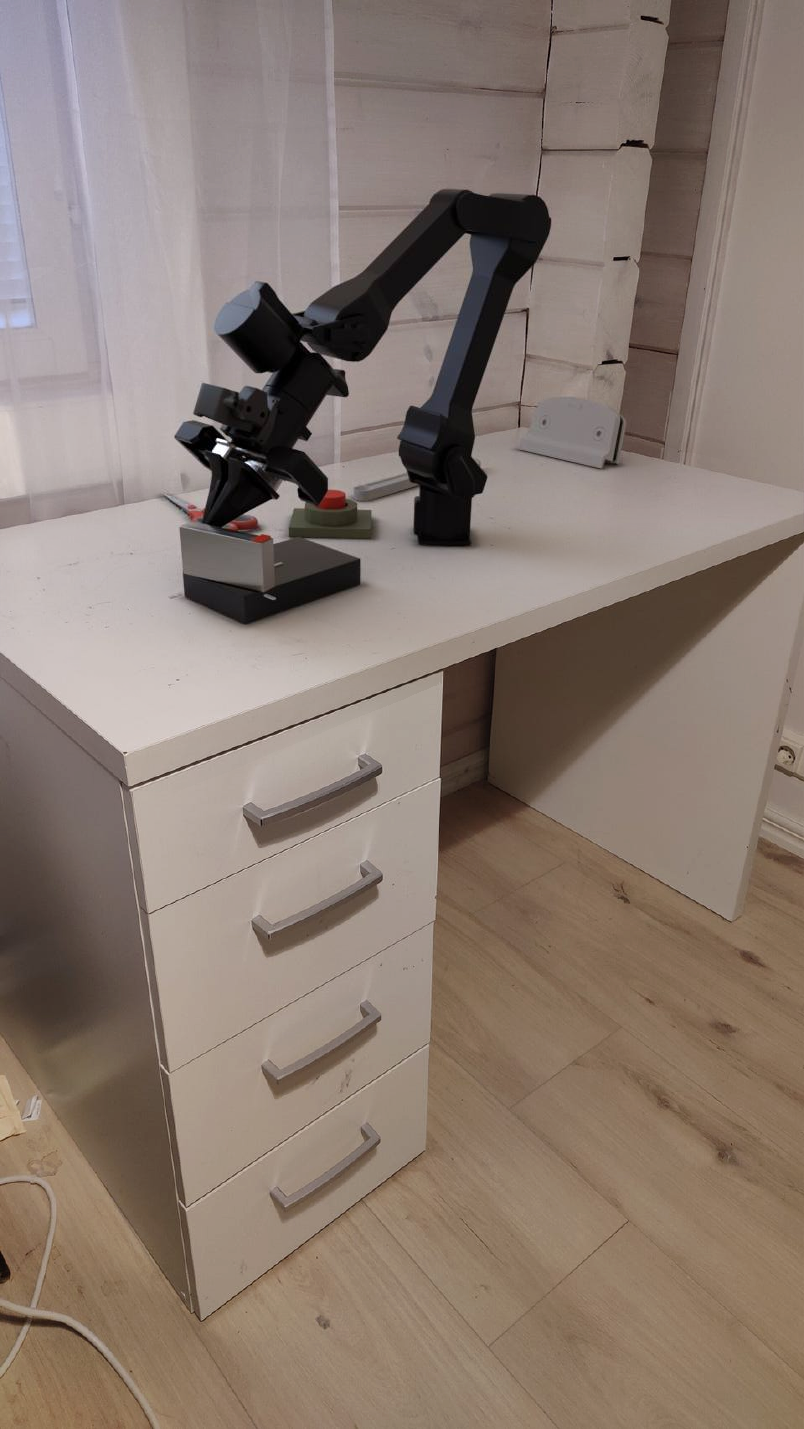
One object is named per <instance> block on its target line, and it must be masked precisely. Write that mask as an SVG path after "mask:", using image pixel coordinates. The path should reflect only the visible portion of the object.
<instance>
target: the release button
mask: <svg viewBox="0 0 804 1429" xmlns="http://www.w3.org/2000/svg"><path fill="white" fill-rule="evenodd" d="M346 496H347V495H346V492H345V491H342V490H338V489H328V492H327V494H326V495H325V497H324V498H323V500H322V501H321V503H320V505H319V506H317V507H318V508H322V509H341V508H345V507H346V499H347V498H346Z"/></svg>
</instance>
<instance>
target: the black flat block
mask: <svg viewBox="0 0 804 1429" xmlns="http://www.w3.org/2000/svg"><path fill="white" fill-rule="evenodd" d="M273 545H274V573H275V587H273V588H271V589H269V590H267V591H265V592H260V591H255V590H251V589H247V588H243V587H239V586H234V585H230V584H226V583H222V582H218V581H213V580H209V579H205V578H201V577H196V576H192V575H188V574H184V573H183V572H182V581H183V582H182V583H183V593H182V592H179V593H175V594H172V595H169V596H168V598H169V599H171V600H172V599H176V598H178V597H181V596H184V598H185V599H188V600H191V601H192V602H195V603H197V604H199V605H201V606H204V607H206V608H208V609H210V610H213V611H215V612H217V613H219V614H221V615H223V616H225V617H228V618H230V619H232V620H235V621H237V622H239V623H241V624H243V625H248V624H251V623H254V622H256V621H260V620H262V619H265V618H268V617H270V616H274V615H277V614H279V613H283V612H285V611H288V610H291V609H294V608H298V607H300V606H303V605H307V604H309V603H313V602H314V601H317V600H320V599H324V598H326V597H329V596H332V595H335V594H338V593H340V592H343V591H346V590H349V589H352V588H355V587H358V586H361V571H362V570H361V568H362V567H361V566H362V565H361V563H362V560H361V558H359V557H357V556H354V555H351V554H348V553H345V552H343V551H340V550H337V549H335V548H331V547H328V546H326V545H323V544H321V543H317V542H315V541H312V540H309V539H307V538H305V537H292V538H290V539H285V540H282V541H279V542H275V543H273Z"/></svg>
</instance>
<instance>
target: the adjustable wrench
mask: <svg viewBox="0 0 804 1429" xmlns="http://www.w3.org/2000/svg"><path fill="white" fill-rule="evenodd" d="M473 459H474V460H475V462H476V463H477V464H478V465H479V466H480V467H481V464H482V463H481V462H482V461H481V460H480V459H479V458H473ZM417 486H419V485H418V484H415V483H411V482H410V481H409V477H408V473H407V472H404V473H400V474H397V475H393V476H389V477H385V478H382V479H378V480H374V481H371V482H367V483H363V484H360V485H359V484H358V485H356V486H353V488H352V499H353V501H357V502H368V501H372V500H375V499H379V498H381V497H384V496H388V495H392V494H396V493H398V492H402V491H405V490H407V489H411V488H414V487H417Z"/></svg>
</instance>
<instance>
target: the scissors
mask: <svg viewBox="0 0 804 1429" xmlns="http://www.w3.org/2000/svg"><path fill="white" fill-rule="evenodd" d="M162 495H164V496H165V497H166V498H167V499H168V500H170V501H171V502H172V503H174V504H176V505H177V506H178V507H180V508H181V509H182V510H183V512H186V514H188V517H189V518H190V520H191V521H193V522H198V523H202V519H203V515H204V511H205V507H204V508H202V509H201V508H199V507H197V506H196V505H193V504H189V503H187V502H185V501H183V500H180V499H178V498H176V497H174V496H172V495H170V494H169V495H168V494H166V493H163V492H162ZM191 521H190V522H191ZM258 525H259V520H258V519H257V518H256V516H253V515H250V514H246V513H245V514H243V515H241V516H239V517H238V518H236V519H234V520H233V521H231V522H229V523H228V524H226V525H224V526H223V527H221V528H226V529H231V530H236V531H250V530H254V529H256V528H257V527H258Z"/></svg>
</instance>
